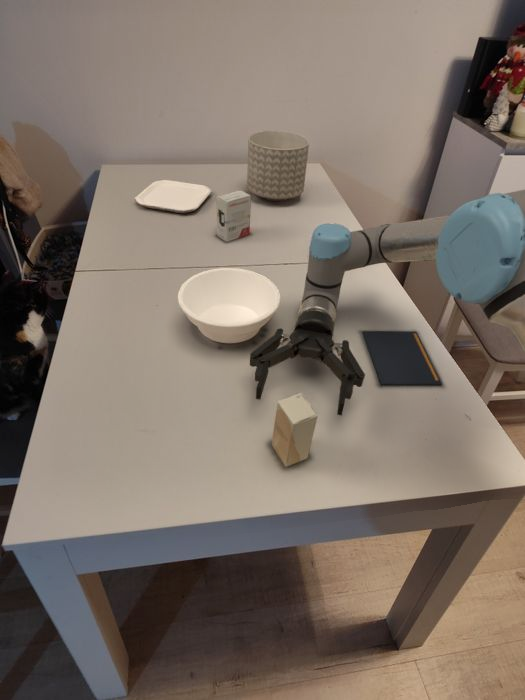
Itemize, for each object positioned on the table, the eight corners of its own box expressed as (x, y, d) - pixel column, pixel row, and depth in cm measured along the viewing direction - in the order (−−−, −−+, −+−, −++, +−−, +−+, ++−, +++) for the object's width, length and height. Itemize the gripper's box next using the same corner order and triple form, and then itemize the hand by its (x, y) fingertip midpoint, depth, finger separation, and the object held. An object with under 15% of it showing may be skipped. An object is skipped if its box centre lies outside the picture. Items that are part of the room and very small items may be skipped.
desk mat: (441, 385, 86) (442, 383, 86) (380, 385, 85) (381, 383, 85) (415, 333, 98) (416, 331, 98) (362, 332, 97) (362, 330, 97)
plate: (193, 218, 135) (193, 211, 133) (130, 208, 137) (129, 201, 136) (215, 193, 150) (214, 186, 148) (157, 184, 153) (157, 178, 151)
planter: (257, 210, 141) (259, 150, 129) (239, 187, 155) (240, 131, 143) (311, 205, 147) (319, 147, 135) (290, 183, 160) (295, 129, 148)
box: (270, 444, 73) (275, 398, 66) (293, 435, 75) (300, 390, 68) (286, 469, 70) (293, 424, 63) (309, 459, 72) (319, 414, 64)
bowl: (226, 373, 85) (226, 340, 80) (160, 323, 96) (156, 291, 90) (297, 327, 97) (301, 296, 92) (231, 287, 108) (231, 257, 102)
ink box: (240, 228, 131) (241, 188, 124) (250, 234, 129) (252, 194, 121) (216, 235, 127) (215, 195, 119) (226, 242, 124) (226, 201, 117)
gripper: (374, 349, 89) (371, 431, 73) (253, 328, 92) (225, 402, 76) (383, 319, 84) (381, 400, 68) (254, 298, 87) (225, 370, 71)
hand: (299, 401), depth 72 cm, fingers open, 13 cm apart
